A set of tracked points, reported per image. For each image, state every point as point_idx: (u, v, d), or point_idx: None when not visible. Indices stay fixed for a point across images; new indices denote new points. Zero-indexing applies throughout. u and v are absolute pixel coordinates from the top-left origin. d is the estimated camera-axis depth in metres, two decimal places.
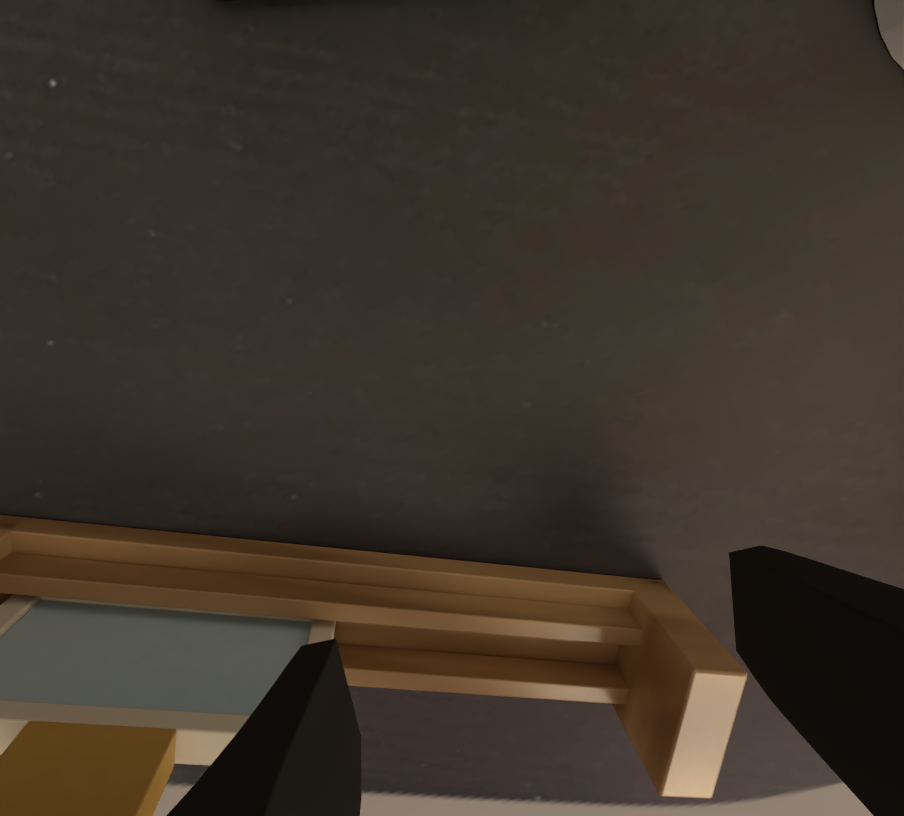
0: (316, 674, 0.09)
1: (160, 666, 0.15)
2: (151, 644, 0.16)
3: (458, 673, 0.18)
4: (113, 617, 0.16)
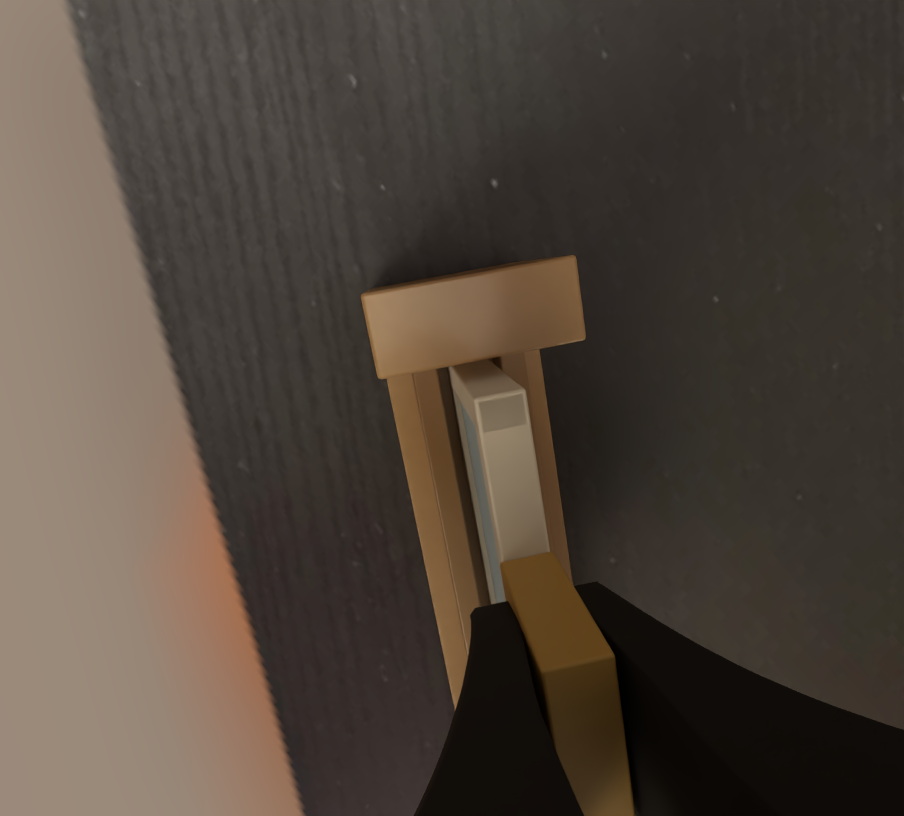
0: (516, 630, 0.09)
1: None
2: None
3: None
4: None
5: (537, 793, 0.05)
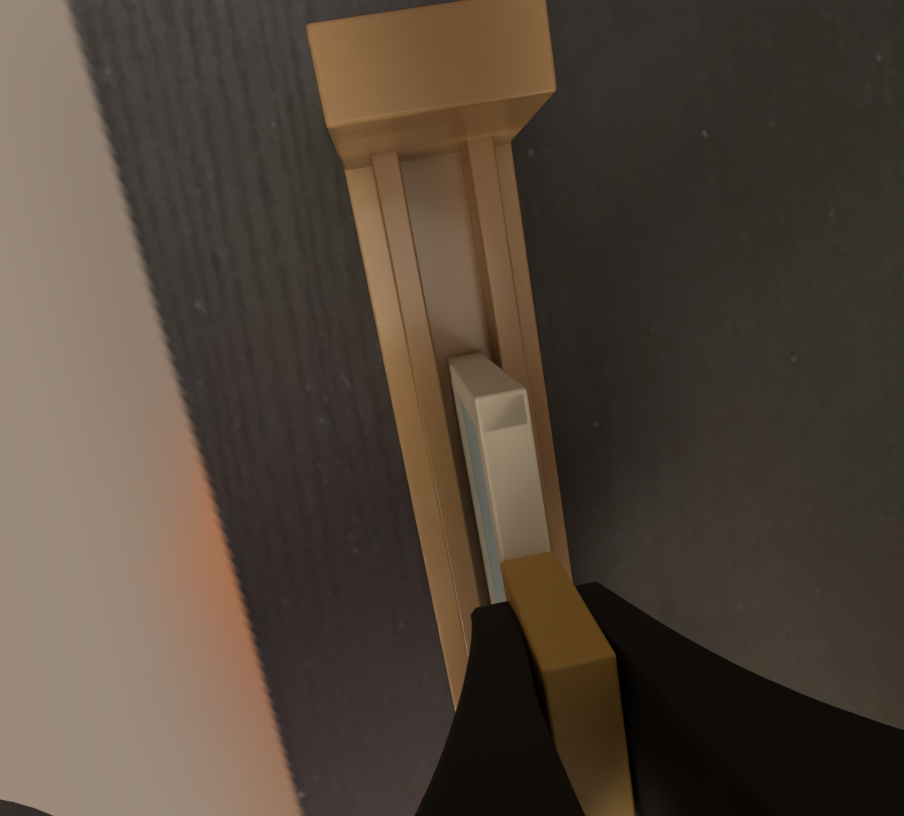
0: (517, 630, 0.09)
1: None
2: None
3: None
4: None
5: (538, 793, 0.05)
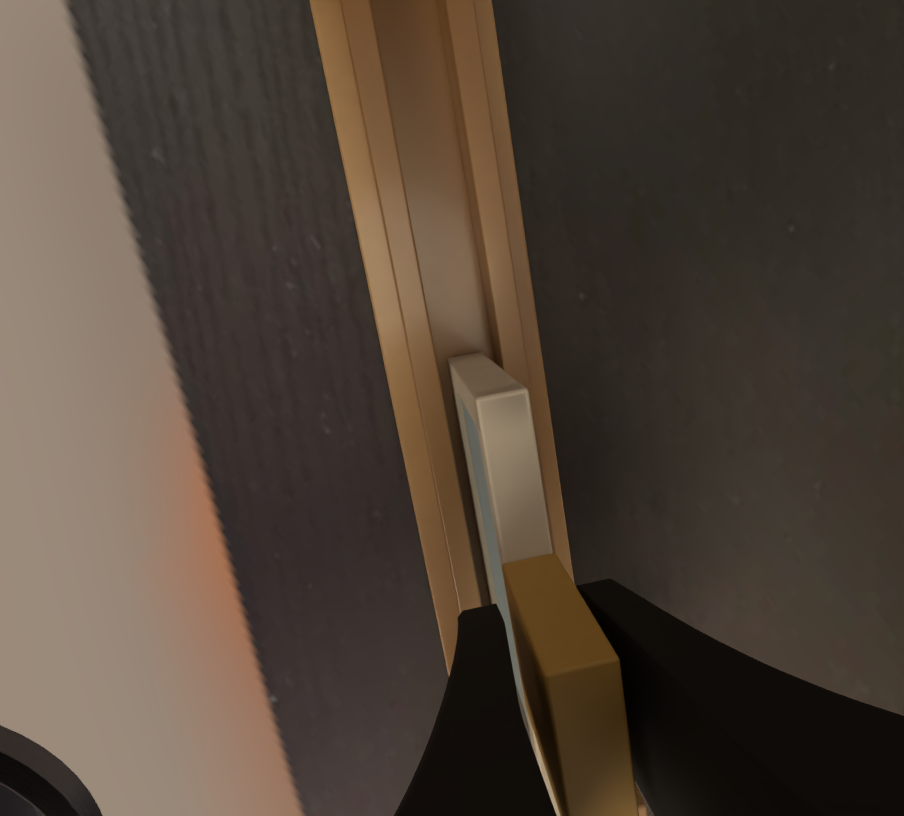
0: (502, 633, 0.09)
1: None
2: None
3: None
4: None
5: (514, 798, 0.05)
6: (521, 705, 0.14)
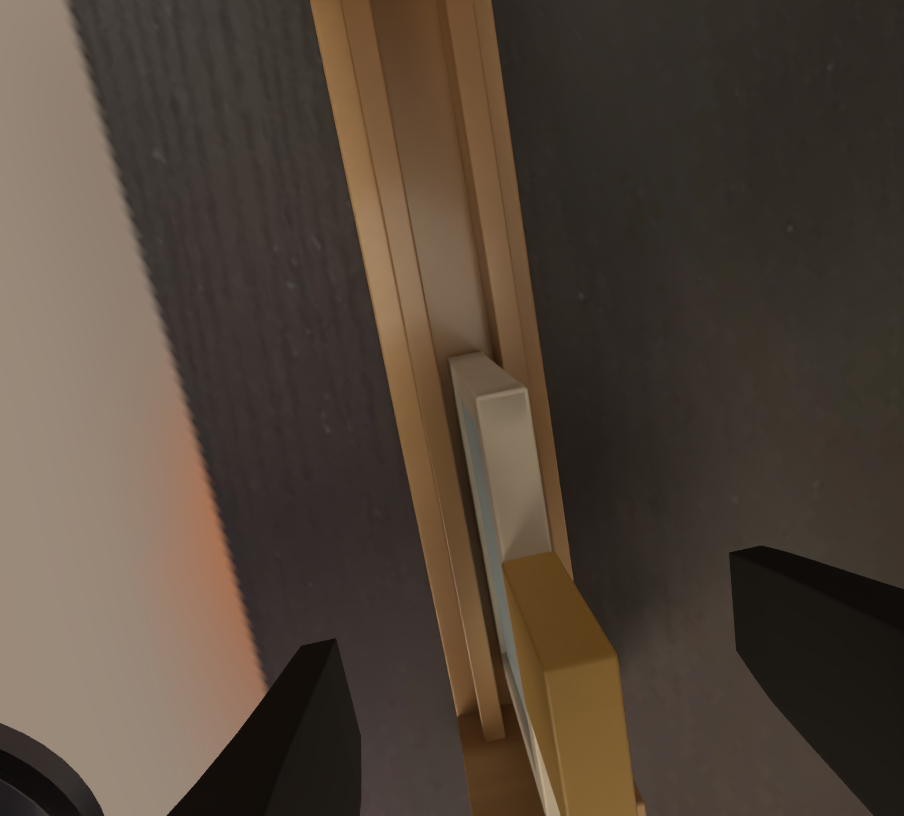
0: (315, 674, 0.09)
1: None
2: None
3: None
4: None
5: None
6: (521, 703, 0.14)
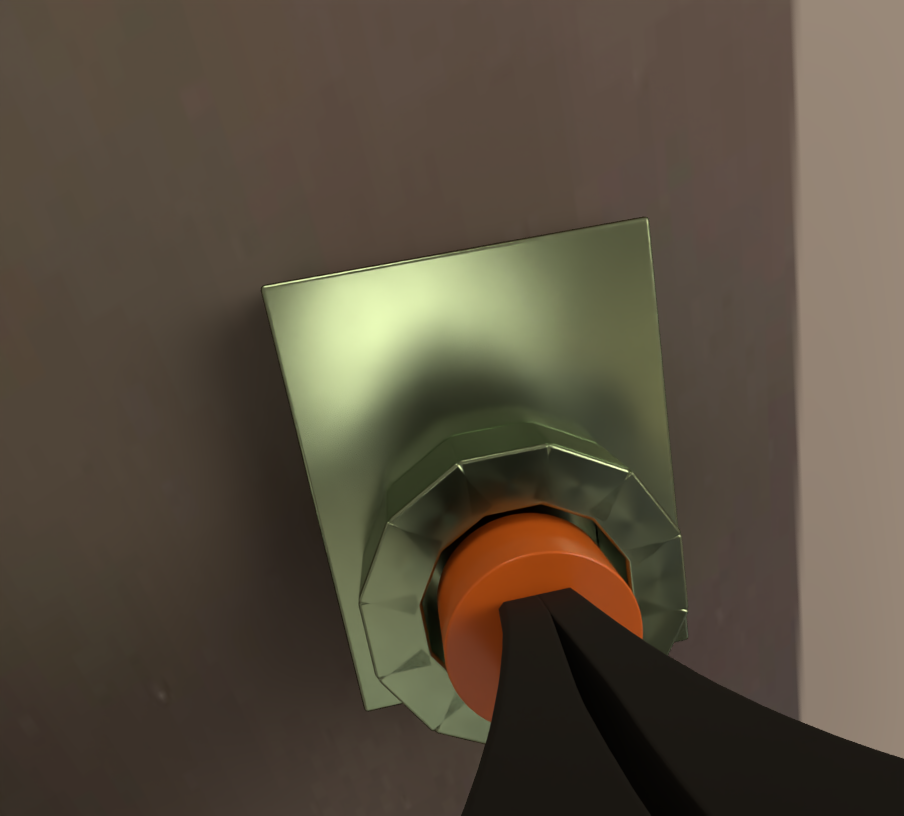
0: (549, 623, 0.09)
1: None
2: None
3: None
4: None
5: (590, 780, 0.05)
6: None
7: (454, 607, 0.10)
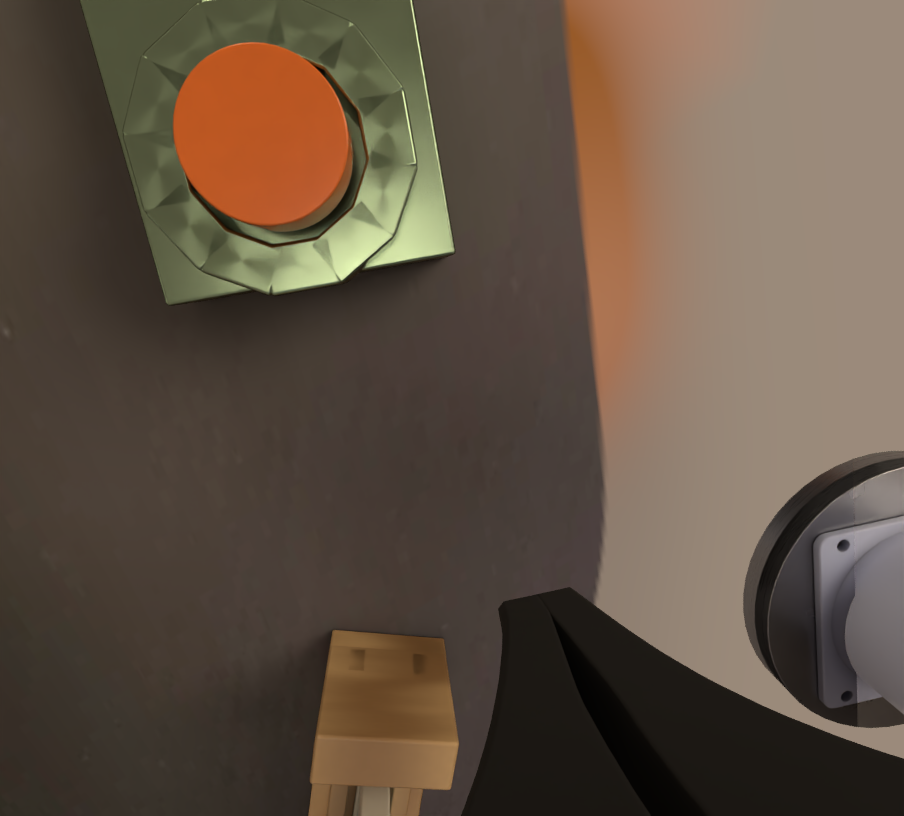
0: (549, 623, 0.09)
1: None
2: None
3: None
4: None
5: (590, 780, 0.05)
6: None
7: (179, 94, 0.12)
